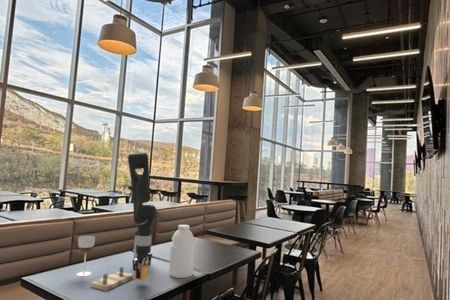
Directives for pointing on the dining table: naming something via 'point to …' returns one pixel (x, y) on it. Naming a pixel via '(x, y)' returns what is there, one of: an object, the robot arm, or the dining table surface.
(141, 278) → the wooden toy cube
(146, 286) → the dining table surface
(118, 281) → the wooden peg rack
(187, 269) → the bottle
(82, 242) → the wineglass
